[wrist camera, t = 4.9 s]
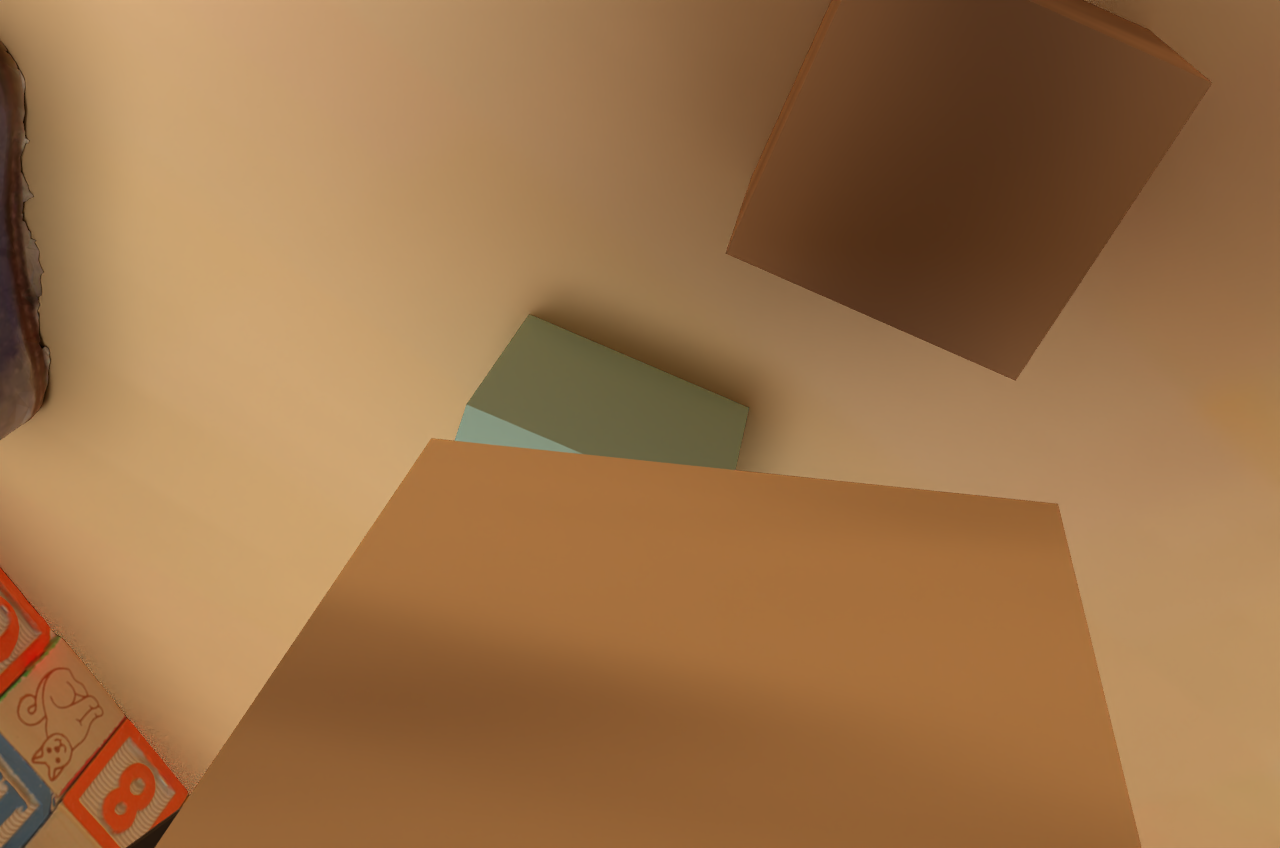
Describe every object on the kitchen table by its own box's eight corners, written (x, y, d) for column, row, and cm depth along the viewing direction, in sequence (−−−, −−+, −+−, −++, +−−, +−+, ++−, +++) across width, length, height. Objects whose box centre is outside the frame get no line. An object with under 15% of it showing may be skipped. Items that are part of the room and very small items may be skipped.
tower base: (749, 405, 22) (725, 514, 19) (665, 574, 25) (630, 698, 21) (531, 311, 22) (466, 404, 19) (468, 491, 25) (401, 601, 21)
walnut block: (1147, 28, 18) (1211, 83, 14) (991, 282, 20) (1015, 380, 17) (873, -95, 18) (873, -70, 14) (751, 176, 20) (725, 253, 17)
